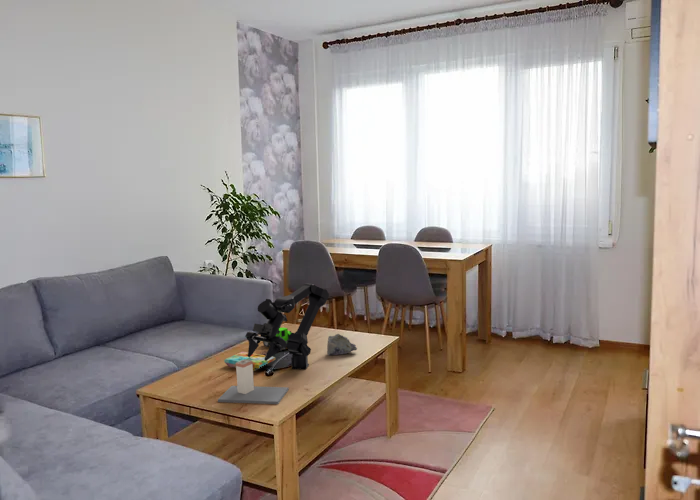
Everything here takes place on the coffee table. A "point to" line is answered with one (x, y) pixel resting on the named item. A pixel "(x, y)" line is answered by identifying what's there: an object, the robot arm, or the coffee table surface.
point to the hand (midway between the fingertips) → (256, 358)
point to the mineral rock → (339, 345)
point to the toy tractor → (281, 335)
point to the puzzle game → (255, 358)
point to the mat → (255, 395)
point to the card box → (245, 376)
